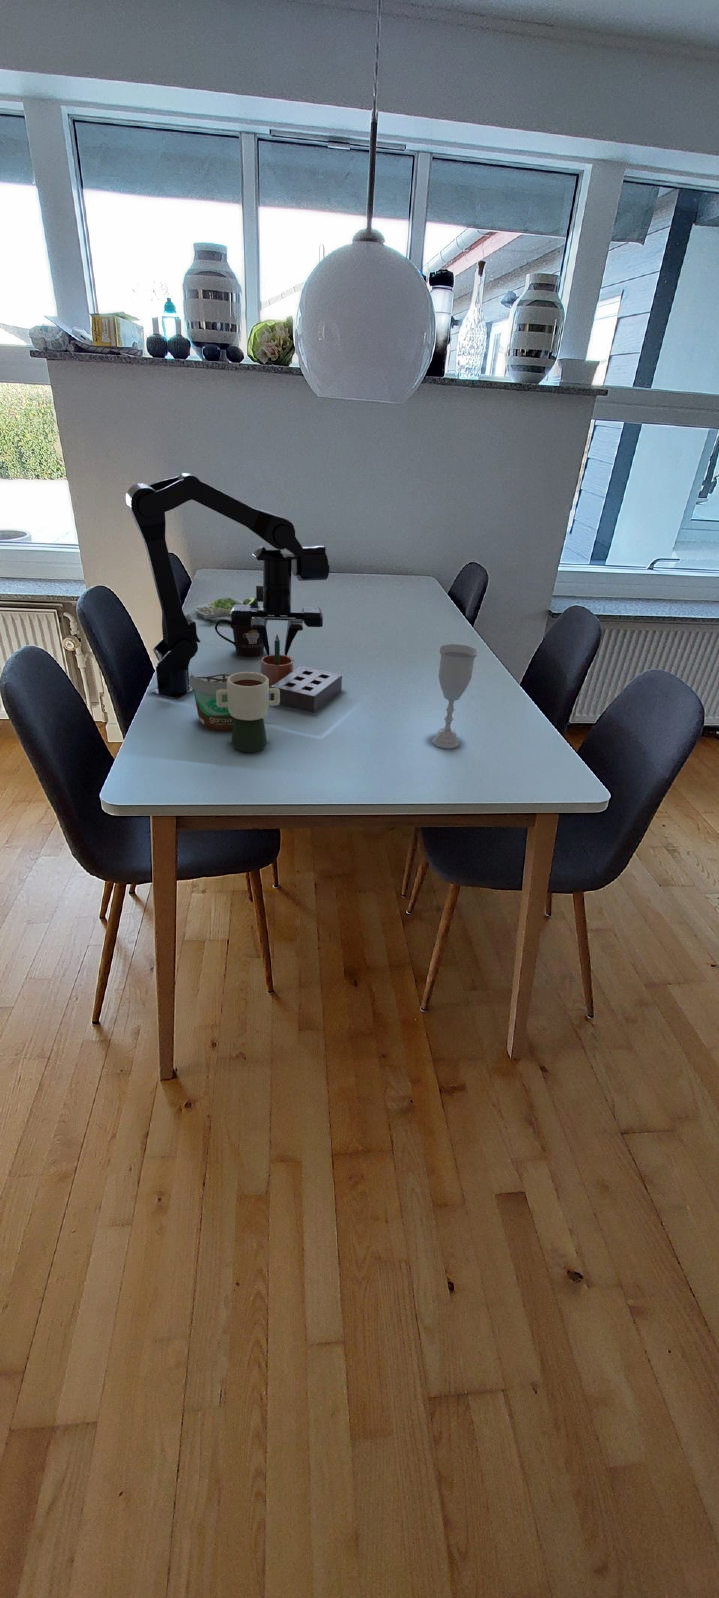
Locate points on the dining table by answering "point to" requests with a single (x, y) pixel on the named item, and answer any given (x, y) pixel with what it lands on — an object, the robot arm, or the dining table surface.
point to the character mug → (248, 708)
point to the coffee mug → (245, 639)
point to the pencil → (277, 650)
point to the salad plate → (223, 608)
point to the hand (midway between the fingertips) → (277, 655)
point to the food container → (211, 702)
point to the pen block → (307, 688)
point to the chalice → (453, 685)
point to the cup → (276, 668)
